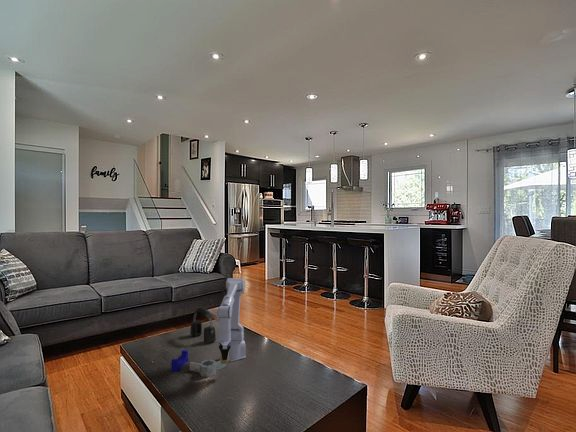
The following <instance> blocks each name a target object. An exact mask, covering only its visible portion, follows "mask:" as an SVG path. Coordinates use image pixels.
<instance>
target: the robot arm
mask: <svg viewBox="0 0 576 432" xmlns="http://www.w3.org/2000/svg"><path fill="white" fill-rule="evenodd" d="M225 286H226V287H225V288H226V290H227V293H226V294H225V295H224V296H223V299H222V302H221V303H220V306H217V311H216V316H217V322H218V338H216V340H215V342H216V343H218V344H219V345H218V349H219V352H220V356H221V355H222V360H227V358H228V352H229V362H234V361H235V362H236V361H238V360H242V359H246V358H247V355H246V354H247V353H246V352H247V349H246V347H247V346H246V342H245V340H244V339H245V330H244V326H243V325H242V324H241V323H240V317H241V316H240V315H241V313H240V312H241V296H242V294H244V293H245V290H246V289H245V287H246V281H245V278H244V277H243V278H242V277H240V278H238V277H235V278H233V277H232V278H231V277H228V278H227V279H226V282H225ZM227 345H228V346H227Z"/></svg>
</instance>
